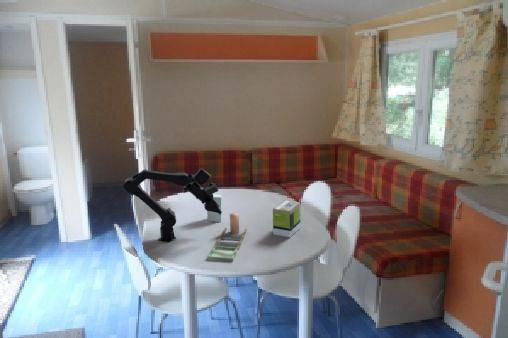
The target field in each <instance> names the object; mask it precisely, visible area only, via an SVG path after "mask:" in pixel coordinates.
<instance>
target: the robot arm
mask: <svg viewBox="0 0 508 338" xmlns="http://www.w3.org/2000/svg"><path fill="white" fill-rule="evenodd" d="M211 178H212V175H211V174H210V173H209V172H208V171H206V170H205V169H203V168H199V170H198V171H197V172H196V173H195V174H189V173H186V171H185V172H182V171H181V172H179V171H178V172H162V171H156V170H149V169H145V168H144V169H142V170H141V171H140V172H138V173H136V174H134V175H133V176H132V177H127V178H126V179H125V181H124V184H123V188H124V190H125V191H126V192H128V193H129V194H130V195H132V196H135V197H137V198H138V199H140V201H142V202H143V203H144V204H145V205H146V206H148V207H149V208H150V209H151V210H152V211H153V212H154V213H156V215H158V216H159V218H160V219H161V221H160V228H159V230H160V231H159V232H160V237H159V238H158V241H161V242H165V243H169V242H171V241H173V240H175V239H177V237H176V236H175V231H174V226H175V225H176V223H177V215H176V213H175V211H173V210H172V209H171V208H170V207H168V208H165V207H164V206H162V205H161V204H160V203H158V201H157V200H155V199H154V198H153V197H152V196H151V195H150V194H149V193H147V191H145V189H144V188H142V186H141V183H143V182H144V181H146V180H153V181H158V182H159V181H161V182H169V183H172V184H174V185H177V186H180V187H182V189H183V193H187V192H189V193H190V194H192V196H194V197H195V199H196V200H198V201H200V202H201V204H202V205H203V207H204V210H205V211H206V212H207V211H211V212H216V213H220V214H221V213H222V211H221V210H220V209H219V208H218V207H219V205H218V204H217V202H216V201H215V200H214V199H213V194H215V193H217V192H219V188H218V186H217V184H216V183H215V182H214V183H213V182H208V181H210V179H211ZM207 182H208V183H207ZM206 183H207V186H206V187H203V186H204V185H205V184H206ZM202 185H203V186H202ZM222 214H223V213H222Z"/></svg>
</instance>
